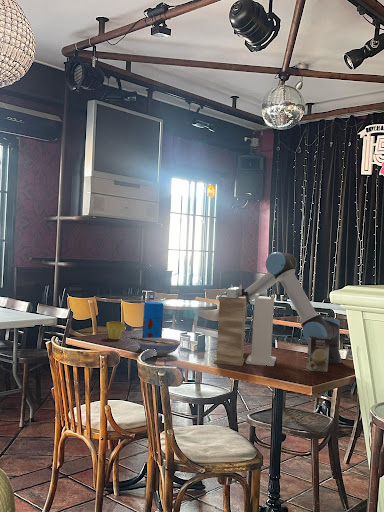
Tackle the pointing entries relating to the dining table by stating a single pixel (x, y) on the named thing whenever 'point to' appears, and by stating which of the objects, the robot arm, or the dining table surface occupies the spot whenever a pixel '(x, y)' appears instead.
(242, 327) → the oak stand
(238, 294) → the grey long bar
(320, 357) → the coffee box
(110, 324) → the plant pot
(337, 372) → the dining table surface
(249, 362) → the post
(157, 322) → the blue carton
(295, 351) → the dining table surface
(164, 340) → the ramen bowl
